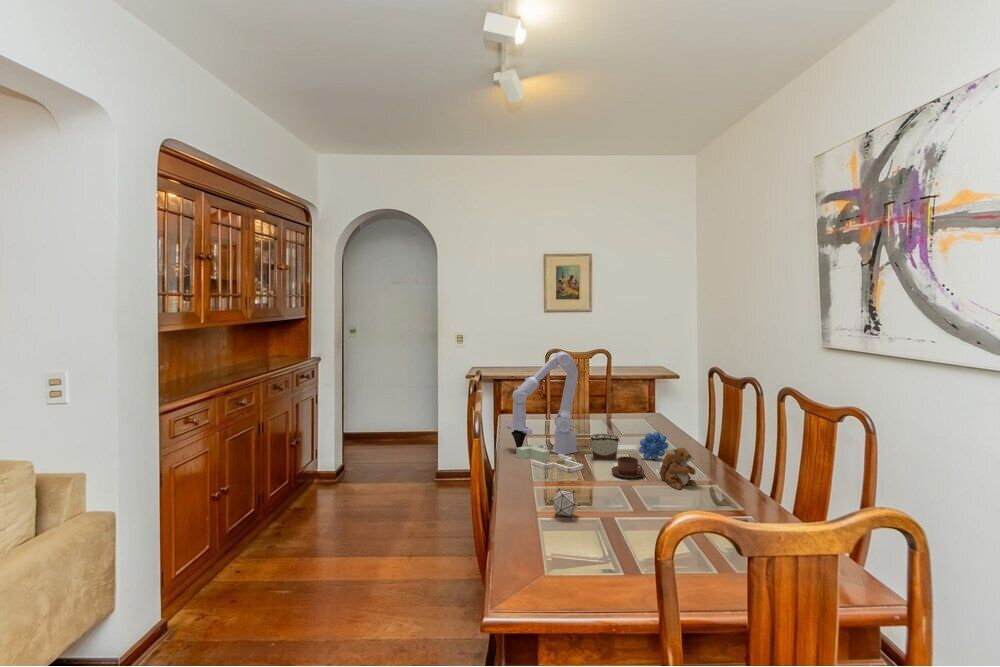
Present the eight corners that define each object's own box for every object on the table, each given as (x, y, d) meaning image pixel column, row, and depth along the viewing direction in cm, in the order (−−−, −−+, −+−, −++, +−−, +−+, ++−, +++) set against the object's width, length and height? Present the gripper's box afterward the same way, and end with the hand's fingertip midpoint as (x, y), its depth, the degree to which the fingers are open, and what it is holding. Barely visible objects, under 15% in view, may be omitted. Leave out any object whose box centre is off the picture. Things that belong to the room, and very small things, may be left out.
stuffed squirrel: (679, 491, 176) (680, 453, 175) (650, 479, 188) (651, 443, 188) (700, 486, 180) (701, 449, 179) (671, 475, 193) (671, 440, 192)
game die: (558, 526, 155) (546, 495, 160) (584, 515, 156) (571, 485, 160) (558, 522, 147) (545, 490, 152) (585, 511, 148) (571, 479, 153)
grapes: (668, 458, 214) (668, 430, 214) (667, 463, 208) (668, 433, 208) (639, 456, 219) (640, 428, 218) (638, 460, 212) (638, 431, 212)
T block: (536, 452, 225) (537, 443, 225) (556, 458, 215) (556, 448, 215) (516, 457, 217) (516, 447, 217) (535, 463, 208) (535, 453, 208)
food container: (617, 456, 217) (618, 433, 217) (619, 461, 211) (619, 437, 211) (588, 456, 218) (588, 433, 218) (589, 460, 212) (589, 436, 212)
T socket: (559, 457, 217) (559, 453, 216) (590, 466, 203) (590, 463, 203) (532, 464, 207) (532, 460, 207) (562, 474, 194) (562, 470, 193)
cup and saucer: (647, 473, 195) (647, 457, 195) (639, 482, 185) (640, 465, 184) (616, 468, 201) (616, 453, 201) (607, 477, 190) (607, 461, 190)
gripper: (501, 415, 227) (501, 445, 228) (523, 420, 216) (523, 452, 217) (513, 413, 232) (513, 443, 232) (535, 418, 220) (535, 449, 221)
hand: (519, 447), depth 225 cm, fingers closed
